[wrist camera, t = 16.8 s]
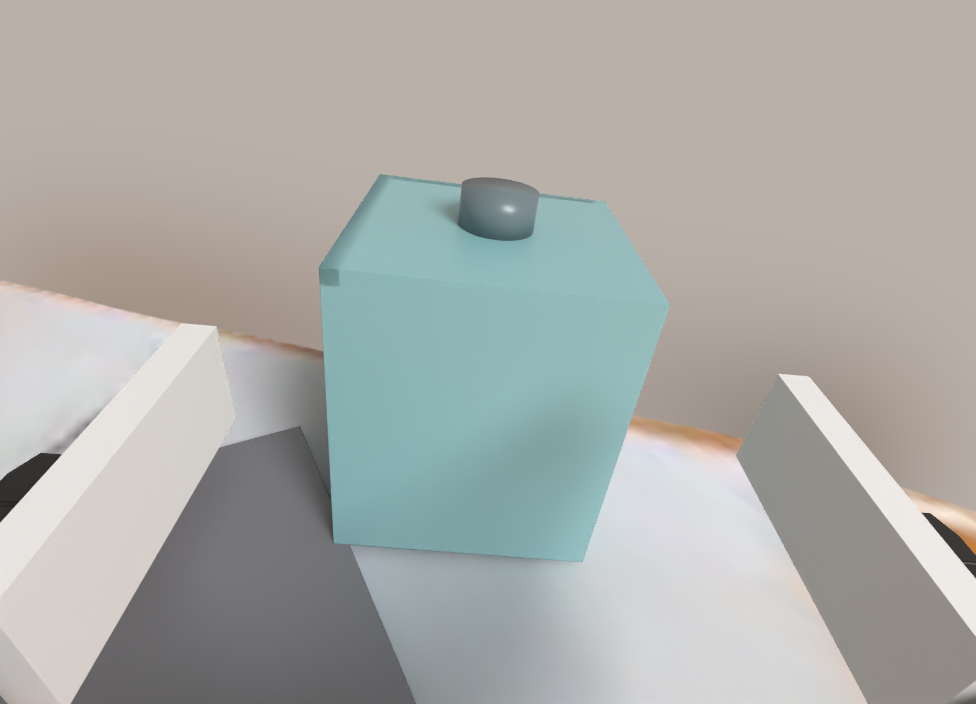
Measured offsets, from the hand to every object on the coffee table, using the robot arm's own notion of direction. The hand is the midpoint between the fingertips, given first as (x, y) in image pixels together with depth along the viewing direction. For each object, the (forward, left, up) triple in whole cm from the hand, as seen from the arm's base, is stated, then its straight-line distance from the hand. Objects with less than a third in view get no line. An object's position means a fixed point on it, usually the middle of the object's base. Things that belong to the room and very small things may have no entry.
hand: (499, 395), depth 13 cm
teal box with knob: (-9, +5, -13) cm, 16 cm away
